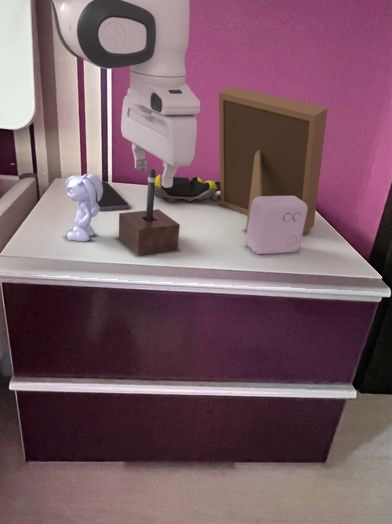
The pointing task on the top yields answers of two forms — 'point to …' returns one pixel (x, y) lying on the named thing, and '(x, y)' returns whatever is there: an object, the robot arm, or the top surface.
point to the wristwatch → (217, 197)
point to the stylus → (150, 195)
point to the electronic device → (276, 224)
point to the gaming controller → (185, 189)
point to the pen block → (148, 232)
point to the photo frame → (269, 149)
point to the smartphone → (110, 199)
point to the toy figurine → (84, 203)
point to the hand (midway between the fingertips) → (152, 177)
